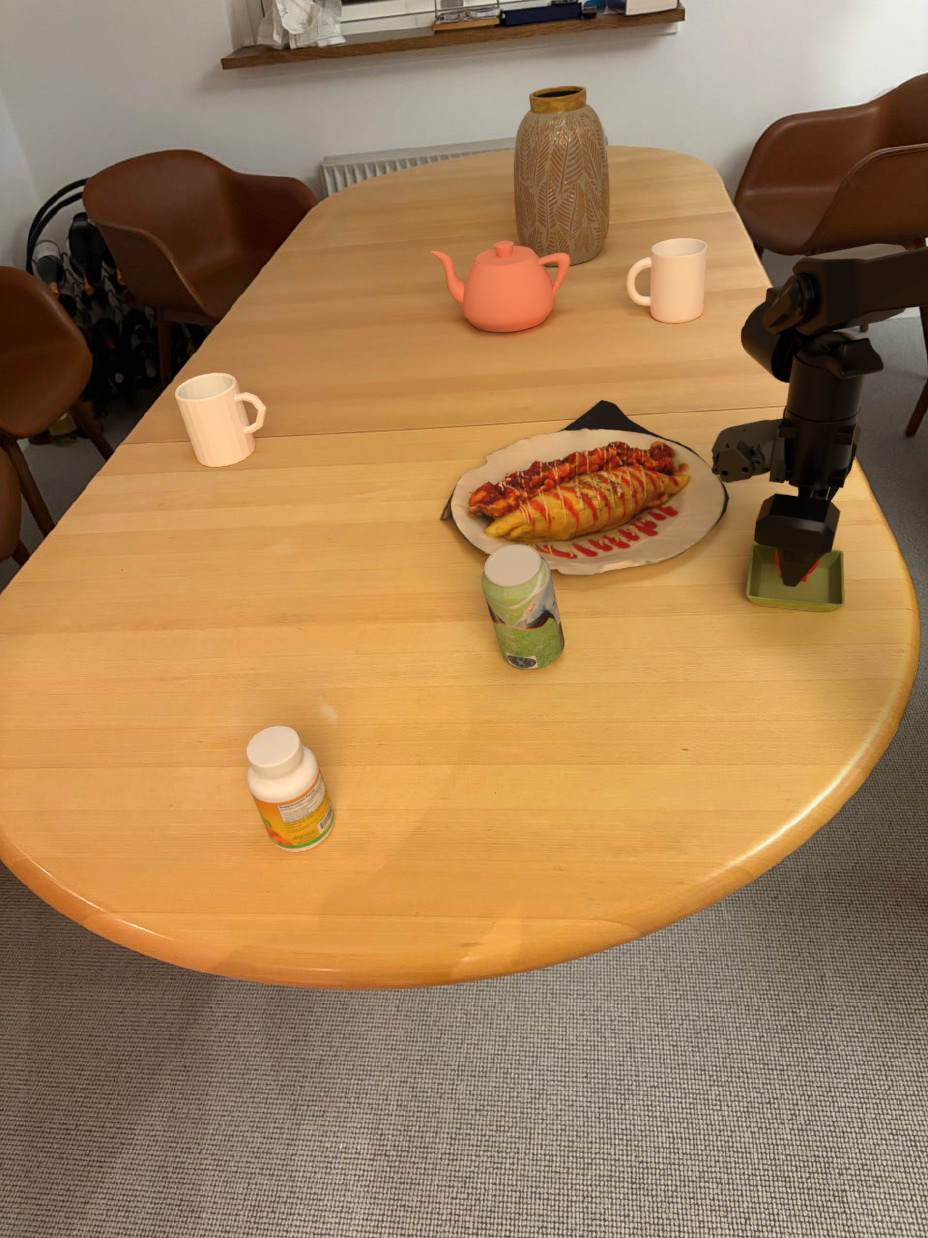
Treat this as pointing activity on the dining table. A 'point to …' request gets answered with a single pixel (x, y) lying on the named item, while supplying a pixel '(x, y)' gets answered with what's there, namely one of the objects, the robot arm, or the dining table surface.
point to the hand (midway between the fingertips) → (798, 556)
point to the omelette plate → (590, 496)
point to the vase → (561, 176)
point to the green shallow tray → (812, 595)
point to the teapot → (506, 287)
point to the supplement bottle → (288, 789)
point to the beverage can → (523, 607)
